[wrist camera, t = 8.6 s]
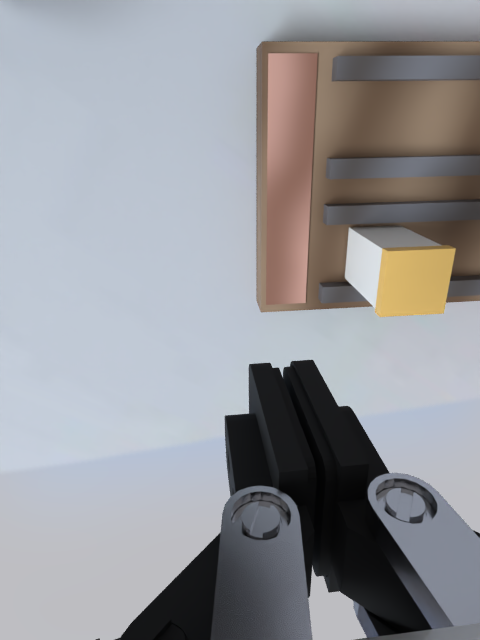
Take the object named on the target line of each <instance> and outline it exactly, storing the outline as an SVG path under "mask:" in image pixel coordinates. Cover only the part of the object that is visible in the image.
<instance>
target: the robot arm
mask: <svg viewBox="0 0 480 640" xmlns="http://www.w3.org/2000/svg"><path fill="white" fill-rule="evenodd" d="M225 441H226V458H227V469H228V478H229V487H230V495H231V497H230V499H229V500H228V501H227V503H226V504H225V507H224V510H223V514H222V525H221V533H220V534H219V535H218V536H217V537H216V538H215V539H214V540H213V541H212V542H211V543H210V544H209V545H208V546H207V547H206V548H205V549H204V550H203V551H202V552H201V553H200V554H199V555H198V556H197V557H196V558H195V559H194V560H193V561H192V562H191V563H190V564H189V565H188V566H187V567H186V568H185V569H184V570H183V571H182V572H181V573H180V574H179V575H178V576H177V577H176V578H175V579H174V580H173V581H172V582H171V583H170V584H169V585H168V586H167V587H166V588H165V589H164V590H163V591H162V593H160V594H159V595H158V596H157V597H156V598H155V599H154V600H153V601H152V602H151V603H150V605H148V607H147V608H146V609H145V610H144V611H143V612H142V613H141V614H140V615H139V616H138V617H137V618H136V619H135V620H134V621H133V622H132V623H131V624H130V625H129V627H128V628H127V629H126V631H125V632H124V633H123V635H122V636H121V638H118V639H115V640H312V631H311V621H310V611H309V602H308V598H309V596H310V587H311V573H312V566H313V569H314V572H315V575H316V576H324V579H325V582H326V585H327V588H328V592H336V591H340V592H341V593H343V594H344V595H346V596H347V597H349V598H350V599H352V600H353V601H354V610H355V613H356V616H357V618H358V620H359V622H360V624H361V626H362V628H363V630H364V632H365V634H366V636H367V638H363V639H356V640H480V533H478V532H475V531H473V530H472V529H471V528H470V527H469V526H468V525H467V524H466V523H465V521H464V520H463V519H462V518H461V517H460V516H459V515H458V514H457V513H456V511H455V510H454V509H453V508H452V507H451V506H450V505H449V504H448V503H447V501H446V500H445V499H444V498H443V497H442V496H441V495H440V494H439V492H438V491H436V490H435V489H434V488H433V487H432V486H431V485H430V484H428V483H426V482H424V481H423V480H421V479H419V478H417V477H414V476H411V475H408V474H401V473H389V471H388V470H387V468H386V466H385V465H384V463H383V461H382V459H381V458H380V456H379V454H378V453H377V451H376V449H375V447H374V446H373V444H372V442H371V441H370V439H369V438H368V436H367V434H366V432H365V430H364V429H363V427H362V425H361V424H360V422H359V420H358V419H357V417H356V415H355V413H354V412H353V410H352V409H351V408H350V407H349V406H341V407H338V405H337V403H336V401H335V400H334V398H333V396H332V394H331V392H330V390H329V389H328V387H327V385H326V383H325V381H324V379H323V377H322V376H321V374H320V372H319V370H318V368H317V366H316V365H315V363H314V361H313V360H303V361H292V362H291V364H290V367H284V370H283V377H282V375H281V372H280V370H279V368H272V366H271V363H259V364H249V414H240V415H227V416H225ZM96 640H100V639H96Z"/></svg>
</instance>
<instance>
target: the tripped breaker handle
mask: <svg viewBox="0 0 480 640" xmlns="http://www.w3.org/2000/svg"><path fill="white" fill-rule="evenodd" d="M455 250H456V248H454V247H452V246H449V245H440V244H438V243H436V242H434V241H432V240H430V239H428V238H425V237H423V236H421V235H419V234H417V233H415V232H413V231H411V230H409V229H406V228H404V227H402V226H374V227H349V233H348V245H347V257H346V269H345V279H346V280H347V281H348V282H349V283H350V284H351V285H352V286H353V287H354V288H355V289H356V290H357V291H358V292H359V293H360V294H361V295H362V296H363V297H364V298H365V299H366V300H367V301H368V302H369V303H370V304H371V305H372V306H373V307H374V308H375V313H376V314H377V315H378V316H379V317H388V316H406V315H424V314H442V313H444V309H445V304H446V299H447V293H448V288H449V283H450V277H451V272H452V266H453V261H454V256H455Z"/></svg>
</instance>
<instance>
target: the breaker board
mask: <svg viewBox="0 0 480 640" xmlns="http://www.w3.org/2000/svg"><path fill="white" fill-rule="evenodd" d="M374 226H402V227H404V228H406V229H409V230H411V231H413V232H415V233H417V234H419V235H421V236H423V237H425V238H428V239H430V240H432V241H434V242H436V243H438V244H440V245H449V246H452V247H454V248H456V250H455V256H454V261H453V266H452V272H451V277H450V283H449V288H448V293H447V299H446V302H464V301H480V41H478V42H261V44H260V45H259V46H258V47H257V303H258V306H259V308H260V311H261V312H275V311H294V310H313V309H332V308H351V307H370V306H372V305H371V304H370V303H369V302H368V301H367V300H366V299H365V298H364V297H363V296H362V295H361V294H360V293H359V292H358V291H357V290H356V289H355V288H354V287H353V286H352V285H351V284H350V283H349V282H348V281H347V280H346V279H345V269H346V257H347V245H348V233H349V227H374Z"/></svg>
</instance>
